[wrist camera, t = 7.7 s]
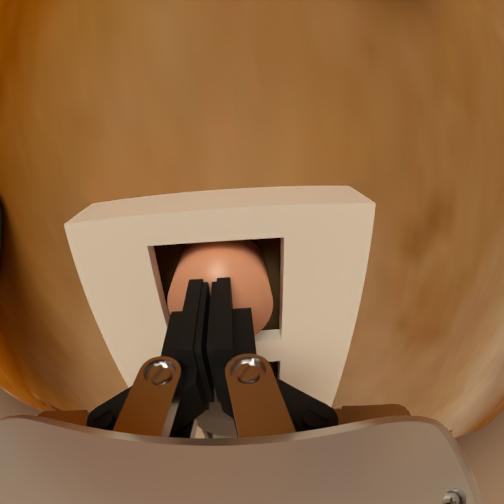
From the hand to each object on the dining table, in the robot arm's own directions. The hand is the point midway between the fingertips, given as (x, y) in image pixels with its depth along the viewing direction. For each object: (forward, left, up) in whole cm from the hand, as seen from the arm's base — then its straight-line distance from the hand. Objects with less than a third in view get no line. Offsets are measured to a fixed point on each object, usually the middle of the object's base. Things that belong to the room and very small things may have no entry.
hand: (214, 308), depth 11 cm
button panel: (0, +7, -4) cm, 8 cm away
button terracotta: (0, 0, -3) cm, 3 cm away
